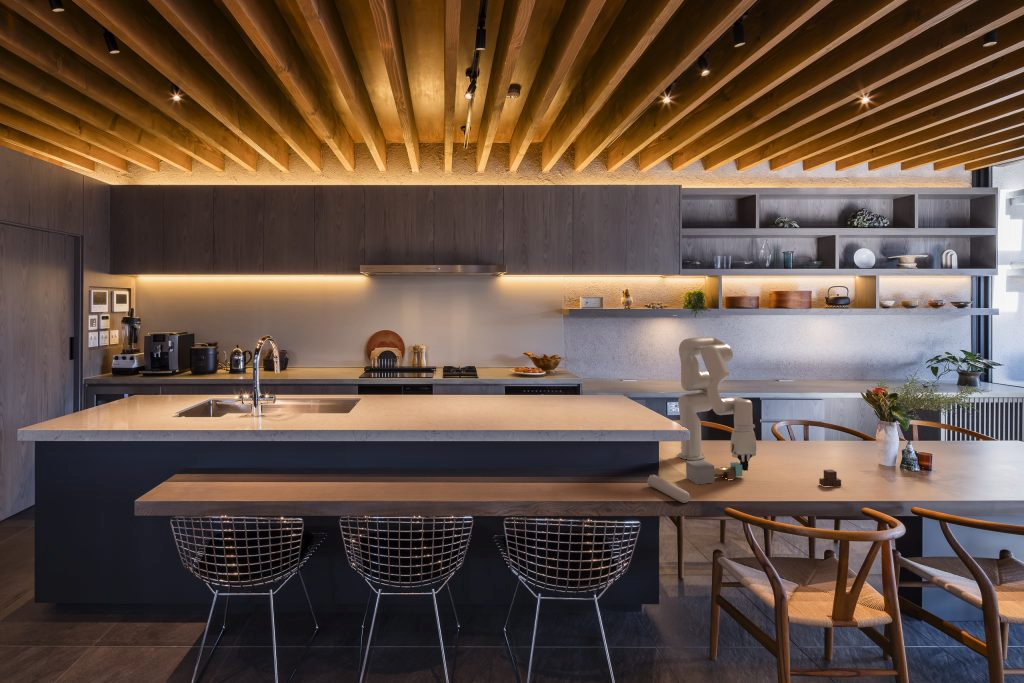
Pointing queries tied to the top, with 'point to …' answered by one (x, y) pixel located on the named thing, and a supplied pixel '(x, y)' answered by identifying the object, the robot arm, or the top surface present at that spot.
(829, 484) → the wooden blocks
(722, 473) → the bronze piece
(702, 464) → the socket block
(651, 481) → the tube
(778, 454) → the top surface
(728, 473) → the guide block
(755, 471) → the top surface
